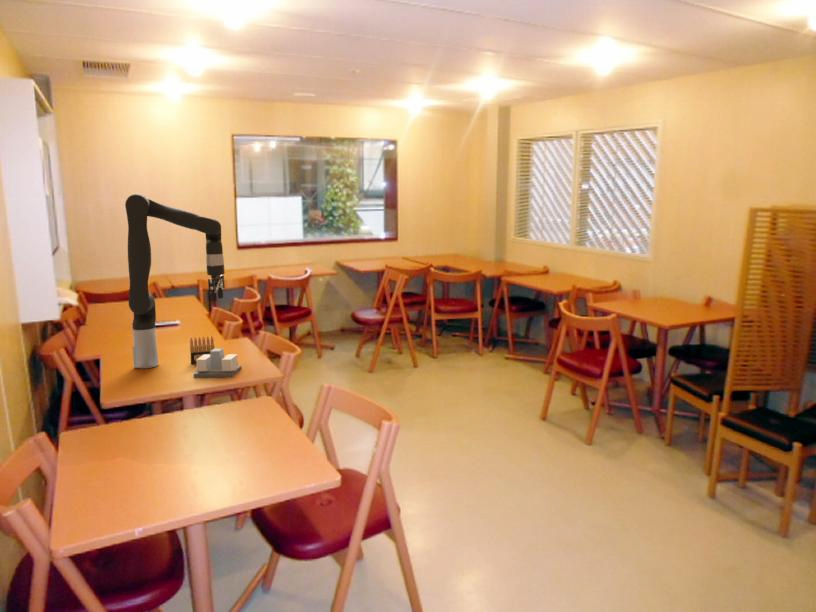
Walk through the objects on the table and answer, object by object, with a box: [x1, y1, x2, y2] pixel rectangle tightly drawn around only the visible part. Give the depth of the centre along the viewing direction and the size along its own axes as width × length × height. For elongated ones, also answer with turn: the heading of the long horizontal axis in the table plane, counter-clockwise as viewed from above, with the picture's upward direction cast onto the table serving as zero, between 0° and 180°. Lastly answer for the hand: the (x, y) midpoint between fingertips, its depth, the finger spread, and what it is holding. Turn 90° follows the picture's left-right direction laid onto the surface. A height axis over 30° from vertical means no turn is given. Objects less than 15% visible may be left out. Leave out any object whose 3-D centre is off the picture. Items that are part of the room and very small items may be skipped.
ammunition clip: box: [189, 335, 216, 365], centre depth 273 cm, size 11×2×12 cm, turn 108°
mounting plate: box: [193, 365, 242, 379], centre depth 256 cm, size 16×13×2 cm
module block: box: [210, 348, 225, 370], centre depth 255 cm, size 4×5×8 cm
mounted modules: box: [196, 353, 239, 372], centre depth 255 cm, size 14×9×5 cm, turn 88°
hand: (217, 299), depth 273 cm, fingers open, 8 cm apart
